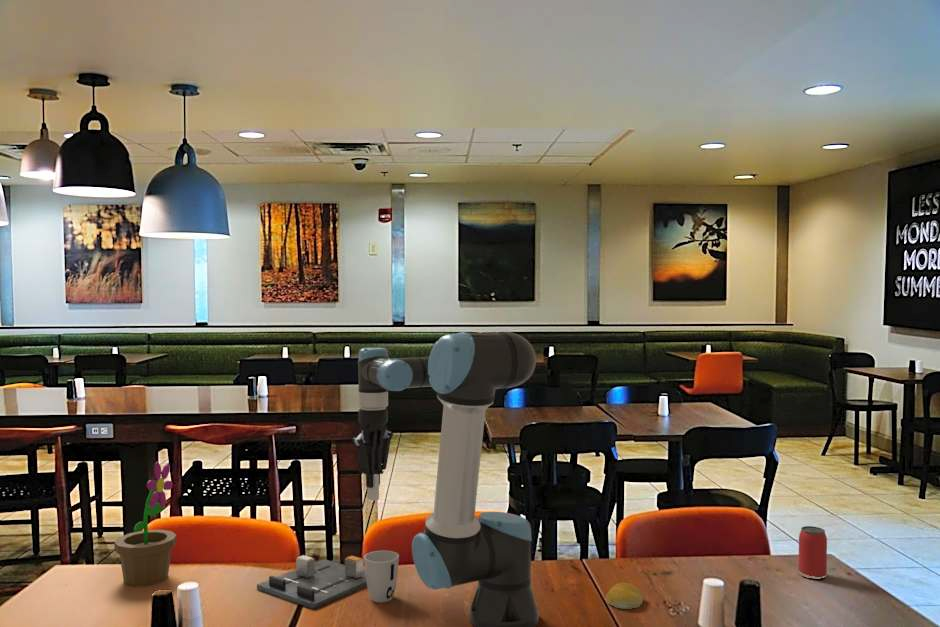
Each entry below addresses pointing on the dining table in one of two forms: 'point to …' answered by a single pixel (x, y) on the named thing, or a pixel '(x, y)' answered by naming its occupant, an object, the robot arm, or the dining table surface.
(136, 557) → the flowerpot
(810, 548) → the beer can
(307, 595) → the console
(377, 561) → the cup
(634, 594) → the bread roll
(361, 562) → the near fader
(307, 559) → the far fader
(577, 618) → the dining table surface
